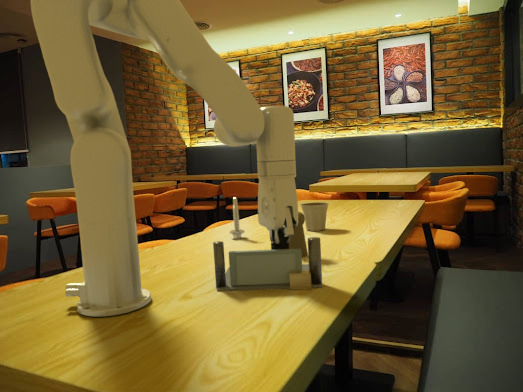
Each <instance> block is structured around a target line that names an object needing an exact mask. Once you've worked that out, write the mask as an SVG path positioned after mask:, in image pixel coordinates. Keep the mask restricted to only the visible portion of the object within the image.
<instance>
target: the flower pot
mask: <svg viewBox="0 0 523 392" xmlns="http://www.w3.org/2000/svg"><path fill="white" fill-rule="evenodd" d="M329 205H330V203H329V202H324V201H323V202H317V201H316V202H315V201H313V202H304V203H301V204H300V207H301V211H302V213H303V215H304V217H305V221H304V224H305V229H306V231H311V232H320V231H322V230H323V231H324V230H326V224H327V223H326V222H327V210H328V208H329Z"/></svg>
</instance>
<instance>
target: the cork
mask: <svg viewBox="0 0 523 392" xmlns="http://www.w3.org/2000/svg"><path fill="white" fill-rule="evenodd" d="M304 224H305V217H304V214H303V212H300V211H298V225H297V227H296V228H293V231H294V235H293V236H290V242H289V249H296V248H301V252H302V259H303V258H306V257H308V246H307V241H306V236H305V230H304Z"/></svg>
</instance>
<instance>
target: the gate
mask: <svg viewBox="0 0 523 392" xmlns="http://www.w3.org/2000/svg"><path fill="white" fill-rule="evenodd" d="M302 264H303V258H302V252H301V248H296V249H275V250H271V249H256V250H229V252H228V265H229V267H230V282H231V286H237V285H256V284H284V283H290V278H289V271H302ZM229 267H228V268H229Z"/></svg>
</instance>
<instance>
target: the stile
mask: <svg viewBox="0 0 523 392" xmlns="http://www.w3.org/2000/svg"><path fill="white" fill-rule="evenodd" d="M321 245H322V244H321V237H318V236H312V237H308V238H307V252H308V256H307V257H308V264H309V270H305V271H289V278H290V288H289V290H290V291H297V290H300V291H301V290H312V289H313V288H311V284H313V285H318V284H322V285H323V273H322V272H323V271H322V270H323V267H322V250H321V249H322V247H321Z"/></svg>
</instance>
